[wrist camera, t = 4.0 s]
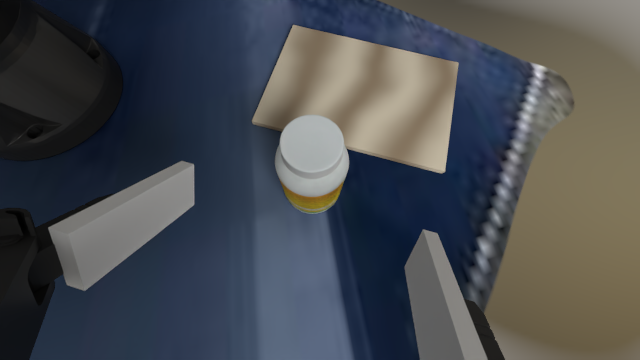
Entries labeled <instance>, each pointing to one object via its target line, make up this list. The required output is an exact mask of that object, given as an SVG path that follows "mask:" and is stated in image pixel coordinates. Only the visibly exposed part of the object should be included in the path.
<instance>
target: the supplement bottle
mask: <svg viewBox="0 0 640 360" xmlns="http://www.w3.org/2000/svg"><path fill="white" fill-rule="evenodd" d="M348 167H349V156H348V152H347V149H346V147H345V145H344V138H343V135H342V132H341V130H340V129H339V127H338V126H337V125H336V124H335V123H334V122H333V121H331V120H330V119H328V118H326V117H324V116H320V115H304V116H300V117H298V118H295V119H294V120H292V121H291V122H290V123H288V125H287V126H286V127H285V128H284V130H283V131H282V134H281V137H280V144H279V146H278V148H277V151H276V155H275V168H276V172H277V175H278V177H279V180H280V182H281V184H282V187H283V189H284V192H285V195H286V197H287V199H288V200H289V202H290V203H291V204H292V205H293V206H294V207H295V208H297V209H298V210H300V211H302V212H305V213H310V214H315V213H321V212H324V211H326V210H327V209H329V208H330V207H331V206H332V205H333V204H334V203H335V202H336V200H337V198H338V196H339V194H340V191H341V188H342V186H343V183H344V180H345V178H346V175H347V172H348Z"/></svg>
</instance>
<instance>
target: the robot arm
mask: <svg viewBox="0 0 640 360" xmlns="http://www.w3.org/2000/svg"><path fill="white" fill-rule="evenodd" d="M122 86H123V80H122V74H121V70H120V68H119V66H118V64H117V62H116V61H115V60H114V58H113V57H112V56H111V55H110V54H109V53H108V52H107V51H106V50H105V49H104V48H103V47H102V46H101V45H100V44H99V43H98V42H97V41H96V40H95V39H93V38H92V37H91V36H89V35H88V34H86V33H85V32H83V31H81V30H80V29H78V28H76V27H75V26H73V25H72V24H70V23H68V22H67V21H65V20H63V19H62V18H60V17H58V16H57V15H55V14H54V13H52V12H50V11H49V10H47V9H45V8H44V7H42V6H40V5H39V4H37V3H36V2H34V1H32V0H0V158H3V159H8V160H16V161H29V160H37V159H43V158H47V157H51V156H54V155H57V154H60V153H62V152H65V151H67V150H69V149H71V148H73V147H75V146H77V145H79V144H80V143H82V142H83V141H85V140H86V139H88V138H89V137H90V136H92V135H93V134H94V133H95V132H96V131H98V130H99V129H100V128H101V127H102V126H103V125H104V124H105V122H106V121H107V120H108V119H109V118H110V116H111V115H112V113H113V112H114V110H115V108H116V106H117V104H118V102H119V99H120V96H121V93H122ZM193 205H194V164H191V163H187V162H184V161H180V162H178V163H176V164H174V165H172V166H170V167H168V168H166V169H164V170H162V171H160V172H158V173H156V174H154V175H152V176H150V177H148V178H146V179H144V180H142V181H140V182H138V183H136V184H134V185H132V186H130V187H128V188H126V189H124V190H122V191H120V192H118V193H116V194H110V195H106V196H103V197H99V198H96V199H94V200H92V201H90V202H88V203H86V204H85V205H82V206H80V207H78V208H76V209H75V210H71V211H69V212H67V213H65V214H63V215H61V216H59V217H57V218H55V219H53V220H51V221H49V222H47V223H45V224H42V225H40V226H38V227H36V228H35V226H34V223H33V220H32V217H31V214H30V212H28V211H27V210H25V209H21V208H5V209H0V360H29V358H30V356H31V353H32V350H33V347H34V344H35V342H36V339H37V336H38V333H39V330H40V328H41V325H42V322H43V319H44V317H45V314H46V311H47V308H48V305H49V303H50V300H51V297H52V294H53V291H54V289H55V282H54V280H55V279H56V278H58V277H59V276H61V275H62V274H63V275H64V278H65V281H66V284H67V285H69V286H72V287H74V288H77V289H80V290H83V291H85V290H87V289H88V288H89V287H90V286H92V285H93V284H94V283H95V282H97V281H98V280H99V279H101V278H102V277H103V276H104V275H106V274H107V273H108V272H109V271H111V270H112V269H113V268H115V267H116V266H117V265H118V264H120V263H121V262H122V261H123V260H125V259H126V258H127V257H129V256H130V255H131V254H132V253H134V252H135V251H136V250H137V249H139V248H140V247H141V246H143V245H144V244H145V243H146V242H148V241H149V240H150V239H151V238H153V237H154V236H155V235H157V234H158V233H159V232H160V231H162V230H163V229H164V228H165V227H167V226H168V225H169V224H171V223H172V222H173V221H174V220H176V219H177V218H178V217H179V216H181V215H182V214H183V213H185V212H186V211H187V210H188V209H190V208H191V207H192V206H193ZM405 273H406V279H407V285H408V291H409V297H410V302H411V308H412V314H413V320H414V326H415V332H416V338H417V344H418V350H419V356H420V360H505V359H504V356H503V354H502V352H501V350H500V348H499V345H498V343H497V341H496V340H495V337H494V335H493V332H492V330H491V329H490V326H489V324H488V322H487V319H486V317H485V315H484V313H483V312H482V311H481V310H480V308H479V307H478V306H477V305H476V303H475V302H473V301H469V300H466V299H463V296H462V294H461V291H460V289H459V286H458V284H457V281H456V279H455V276H454V274H453V271H452V269H451V266H450V264H449V261H448V259H447V256H446V254H445V251H444V249H443V246H442V244H441V241H440V239H439V236H438V234H437V233H434V232H430V231H427V230H423V231H422V233H421V235H420V237H419V239H418V241H417V243H416V245H415V247H414V249H413V251H412V253H411V255H410V257H409V259H408V261H407V263H406V265H405Z"/></svg>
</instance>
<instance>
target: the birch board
mask: <svg viewBox="0 0 640 360" xmlns="http://www.w3.org/2000/svg"><path fill="white" fill-rule="evenodd" d="M457 71H458V63H457V62H453V61H448V60H444V59H440V58H435V57H431V56H427V55H422V54H418V53H414V52H409V51H405V50H400V49H396V48H392V47H387V46H383V45H379V44H374V43H370V42H366V41H361V40H357V39H352V38H348V37H344V36H339V35H335V34H331V33H326V32H322V31H318V30H313V29H309V28H304V27H300V26H296V25H293V26H292V29H291V31H290V33H289V36H288V38H287V40H286V43H285V45H284V47H283V50H282V52H281V54H280V57H279V59H278V61H277V64H276V66H275V68H274V71H273V73H272V75H271V78H270V80H269V82H268V85H267V87H266V89H265V92H264V94H263V96H262V98H261V101H260V103H259V105H258V108H257V110H256V112H255V115H254V117H253V119H252V123H253V124H254V125H258V126H262V127H266V128H269V129H273V130H277V131H281V132H282V131H283V130H284V128H285V127H286V126H287V125H288V123H290V122H291V121H292V120H294V119H295V118H298V117H300V116H304V115H320V116H324V117H326V118H328V119H330V120H331V121H333V122H334V123H335V124H336V125H337V126H338V127H339V129H340V130H341V132H342V135H343V138H344V145H345V147H346V149H350V150H354V151H357V152H361V153H365V154H369V155H373V156H377V157H380V158H384V159H388V160H392V161H396V162H399V163H403V164H407V165H411V166H415V167H419V168H422V169H426V170H430V171H434V172H438V173H444V172H445V167H446V159H447V151H448V143H449V135H450V127H451V119H452V111H453V103H454V95H455V87H456V79H457Z"/></svg>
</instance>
